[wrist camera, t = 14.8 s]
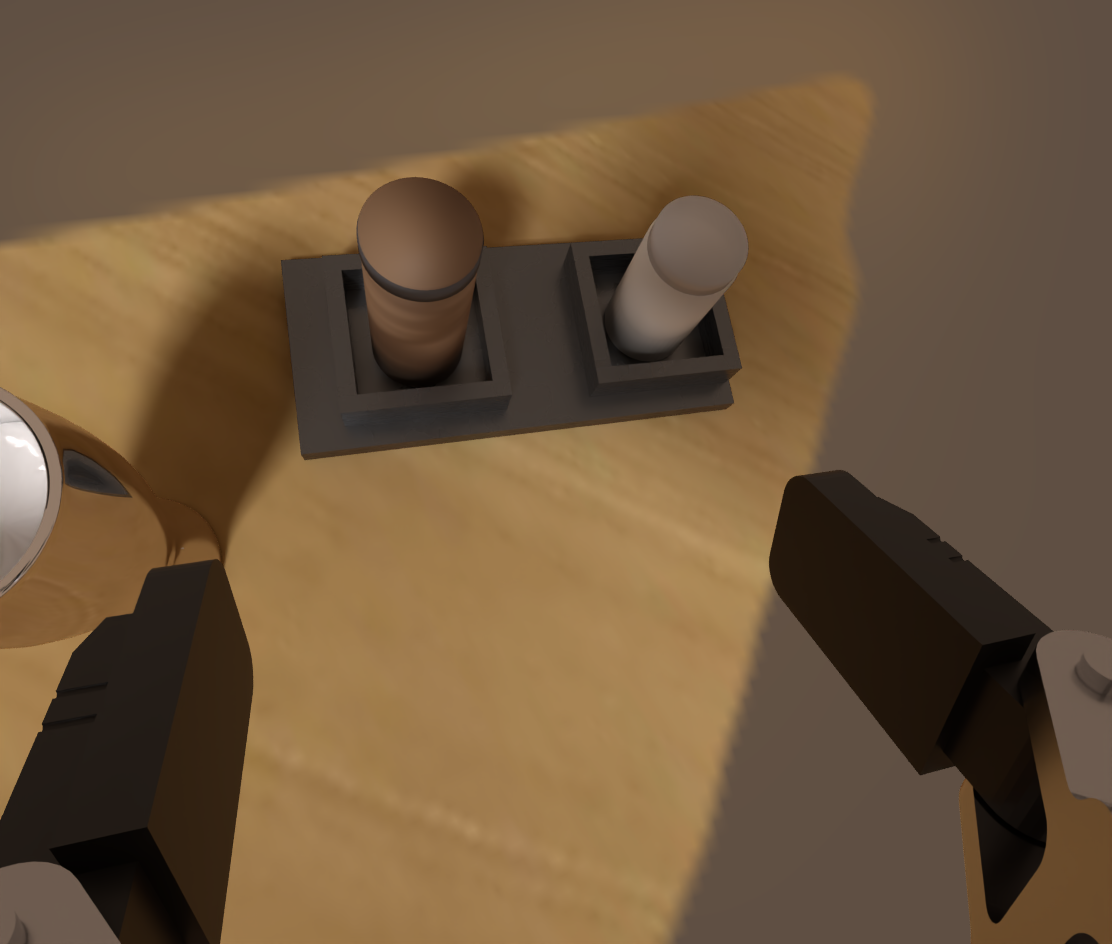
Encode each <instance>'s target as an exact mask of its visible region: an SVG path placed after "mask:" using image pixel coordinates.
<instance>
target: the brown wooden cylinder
mask: <svg viewBox="0 0 1112 944" xmlns="http://www.w3.org/2000/svg"><path fill="white" fill-rule="evenodd" d="M357 242H358V249H359V255H360V258H361V262H362V271H363V279H364V287H365V295H366V303H367V311H368V320H369V328H370V336H371V344H372V351H373V355H374V358H375V360H376V362H377V364H378V366H379V367H380V369H381V370H382V371H383V372H384V373H385V374H386V375H387V376H388V377H390V378H391V379H393V380H394V381H396V382H398V383H400V384H403V385H407V386H411V387H427V386H431V385H435V384H437V383H440V382H441V381H443V380H445V379H446V378H448V377H449V376H450V375H451V374H452V373H453V372H454V370H455V369H456V368H457V366H458V364H459V362H460V359H461V355H462V350H463V345H464V339H465V334H466V329H467V324H468V318H469V313H470V308H471V302H472V297H473V292H474V286H475V281H476V276H477V271H478V268H479V266H480V261H481V257H482V251H483V244H484V237H483V230H482V226H481V222H480V219H479V217H478V215H477V213H476V211H475V209H474V208H473V206H472V205H471V203H470V202H469V201H468V200H467V199H466V198H465V197H464V196H463V195H462V194H461V193H459V192H458V191H457V190H455V189H454V188H452V187H450V186H448V185H446V184H444V183H442V182H439V181H436V180H432V179H428V178H419V177H411V178H402V179H398V180H394V181H391V182H389V183H387V184H385V185H383V186H381V187H380V188H378V189H377V190H376V191H375V192H373V193H372V194H371V195H370V197H369V198H368V199H367V200H366V202H365V203H364V205H363V207H362V209H361V211H360V214H359V218H358V221H357Z"/></svg>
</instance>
